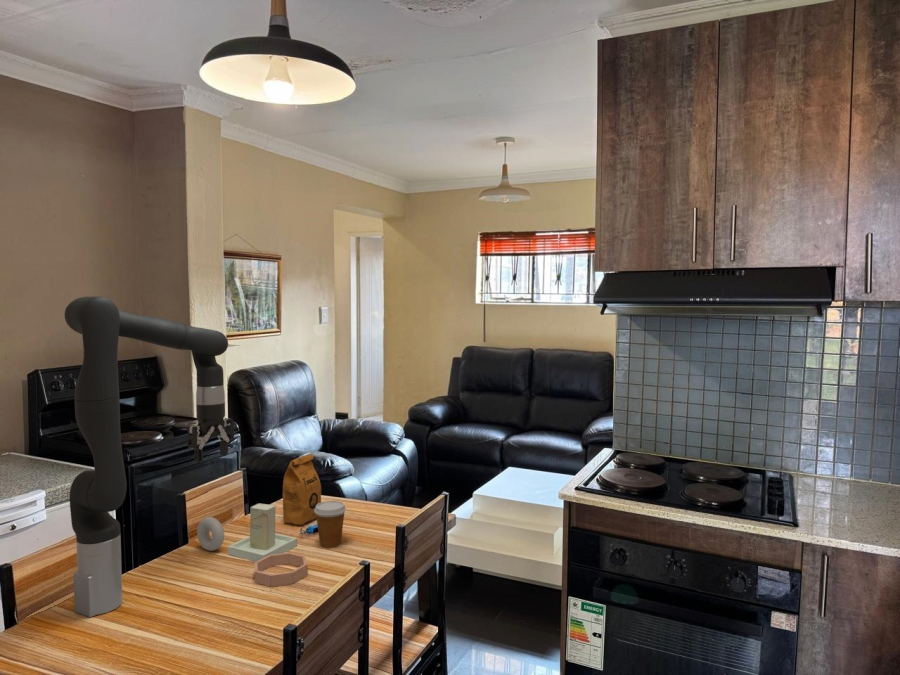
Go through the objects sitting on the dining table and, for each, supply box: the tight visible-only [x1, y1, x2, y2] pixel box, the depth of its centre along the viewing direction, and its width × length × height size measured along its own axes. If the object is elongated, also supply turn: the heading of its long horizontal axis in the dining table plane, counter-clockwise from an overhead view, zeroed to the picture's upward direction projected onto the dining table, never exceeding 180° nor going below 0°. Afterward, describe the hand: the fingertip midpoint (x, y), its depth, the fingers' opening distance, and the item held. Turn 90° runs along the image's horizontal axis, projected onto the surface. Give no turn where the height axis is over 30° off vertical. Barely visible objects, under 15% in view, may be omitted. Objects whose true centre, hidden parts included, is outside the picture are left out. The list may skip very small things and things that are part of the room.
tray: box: [227, 532, 298, 563], centre depth 179 cm, size 14×14×2 cm
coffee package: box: [282, 453, 322, 525], centre depth 204 cm, size 10×12×22 cm
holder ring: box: [253, 551, 308, 588], centre depth 163 cm, size 14×14×3 cm
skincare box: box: [249, 502, 277, 550], centre depth 179 cm, size 6×4×12 cm
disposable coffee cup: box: [314, 500, 347, 549], centre depth 184 cm, size 10×10×12 cm
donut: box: [196, 516, 225, 552], centre depth 179 cm, size 10×4×10 cm, turn 61°
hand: (211, 458), depth 169 cm, fingers open, 8 cm apart
